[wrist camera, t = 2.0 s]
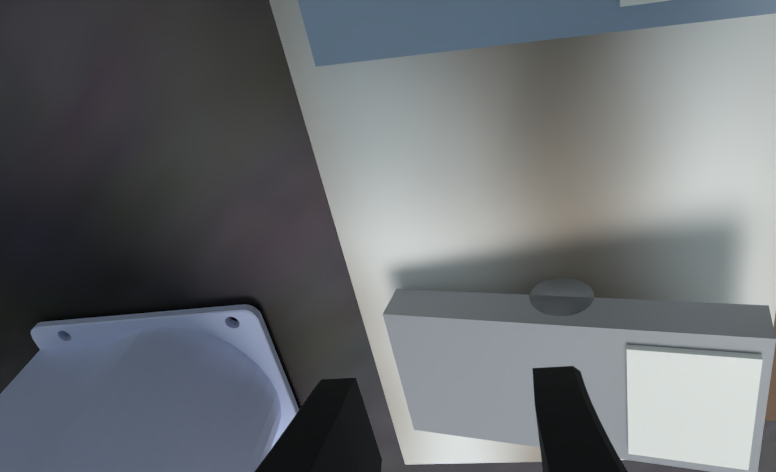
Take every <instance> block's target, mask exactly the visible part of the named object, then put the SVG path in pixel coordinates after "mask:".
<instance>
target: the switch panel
mask: <svg viewBox="0 0 776 472" xmlns="http://www.w3.org/2000/svg"><path fill="white" fill-rule="evenodd" d="M269 2H270V5H271V8H272V12H273V15H274V19H275V22H276V25H277V29H278V32H279V36H280V39H281V43H282V46H283V49H284V53H285V56H286V60H287V63H288V66H289V70H290V73H291V77H292V80H293V83H294V87H295V90H296V94H297V97H298V101H299V104H300V107H301V111H302V114H303V118H304V121H305V124H306V128H307V131H308V135H309V138H310V141H311V145H312V148H313V152H314V155H315V159H316V162H317V165H318V169H319V172H320V176H321V179H322V182H323V186H324V189H325V193H326V196H327V199H328V203H329V206H330V210H331V213H332V216H333V220H334V223H335V227H336V230H337V234H338V237H339V240H340V244H341V247H342V251H343V254H344V257H345V261H346V264H347V268H348V271H349V274H350V278H351V281H352V285H353V288H354V292H355V295H356V298H357V302H358V305H359V309H360V312H361V315H362V319H363V322H364V326H365V329H366V332H367V336H368V339H369V343H370V346H371V350H372V353H373V356H374V360H375V363H376V367H377V370H378V373H379V377H380V380H381V384H382V387H383V390H384V394H385V397H386V401H387V404H388V407H389V411H390V414H391V418H392V421H393V425H394V428H395V431H396V435H397V438H398V442H399V445H400V448H401V452H402V455H403V459H404V462H405V465H408V464H455V463H502V462H542V458H541V450H540V447H533V446H526V445H518V444H511V443H504V442H497V441H490V440H483V439H476V438H469V437H462V436H455V435H448V434H440V433H433V432H426V431H419V430H414V428H413V424H412V421H411V417H410V413H409V410H408V406H407V402H406V398H405V395H404V391H403V387H402V384H401V380H400V376H399V373H398V369H397V365H396V362H395V358H394V354H393V350H392V347H391V343H390V339H389V336H388V332H387V328H386V325H385V321H384V317H383V313H384V311H385V309H386V307H387V305H388V303H389V302H390V300H391V298H392V296H393V294H394V292H395V290H396V289H414V290H436V291H459V292H481V293H503V294H526V295H530V292H531V291H532V289H533V288H534V287H535V286H536V285H538V284H539V283H541V282H543V281H546V280H549V279H553V278H573V279H577V280H580V281H582V282H584V283H586V284H587V285H589V286H590V287H591V289H592V290H593V292H594V298H615V299H637V300H660V301H682V302H704V303H727V304H749V305H769V309H770V314H771V318H772V323H773V327H774V332H775V336H776V13H774V14H766V15H757V16H748V17H740V18H731V19H722V20H714V21H705V22H697V23H688V24H679V25H671V26H662V27H653V28H645V29H636V30H628V31H619V32H610V33H602V34H593V35H584V36H576V37H567V38H559V39H550V40H541V41H533V42H524V43H515V44H507V45H498V46H489V47H481V48H472V49H464V50H455V51H446V52H438V53H429V54H420V55H412V56H403V57H395V58H386V59H377V60H369V61H360V62H351V63H343V64H334V65H326V66H317V67H316V66H315V63H314V59H313V55H312V51H311V48H310V44H309V40H308V37H307V33H306V29H305V26H304V22H303V18H302V15H301V11H300V7H299V3H298V0H269ZM765 421H776V344H775V351H774V358H773V365H772V372H771V379H770V386H769V394H768V401H767V408H766V415H765ZM620 460H625V459H620Z"/></svg>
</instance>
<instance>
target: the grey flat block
mask: <svg viewBox="0 0 776 472" xmlns="http://www.w3.org/2000/svg"><path fill="white" fill-rule="evenodd" d="M383 317H384V321H385V325H386V328H387V332H388V336H389V339H390V343H391V347H392V350H393V354H394V358H395V362H396V365H397V369H398V373H399V376H400V380H401V384H402V387H403V391H404V395H405V398H406V402H407V406H408V410H409V413H410V417H411V421H412V424H413V428H414V430H419V431H426V432H433V433H440V434H448V435H455V436H462V437H469V438H476V439H483V440H490V441H497V442H504V443H511V444H518V445H526V446H533V447H540V442H539V434H538V426H537V418H536V410H535V399H534V385H533V369H532V368H545V367H563V366H574V367H575V368H577V369H578V370H579V371H581V374H582V378H583V381H584V384H585V387H586V389H587V392H588V395H589V397H590V400H591V402H592V404H593V407H594V409H595V411H596V413H597V415H598V417H599V419H600V421H601V423H602V426H603V428H604V430H605V432H606V434H607V436H608V438H609V440H610V441H611V443H612V445H613V447H614V449H615V451H616V453H617V454H618V456H619V458H620V459H625V460H632V461H639V462H646V463H653V464H660V465H667V466H674V467H682V468H689V469H696V470H703V471H710V472H758V465H759V458H760V450H761V443H762V436H763V429H764V422H765V415H766V408H767V401H768V394H769V386H770V379H771V372H772V365H773V358H774V351H775V344H776V336H775V332H774V327H773V323H772V318H771V314H770V309H769V305H749V304H727V303H704V302H682V301H660V300H637V299H615V298H594V292H593V290H592V289H591V287H590V286H589V285H587V284H586V283H584V282H582V281H580V280H577V279H573V278H553V279H549V280H546V281H543V282H541V283H539V284H538V285H536V286H535V287H534V288H533V289H532V291H531V292H530V295H526V294H503V293H481V292H459V291H436V290H414V289H396V290H395V292H394V294H393V296H392V298H391V300H390V302H389V303H388V305H387V307H386V309H385V311H384V313H383Z"/></svg>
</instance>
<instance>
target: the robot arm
mask: <svg viewBox="0 0 776 472" xmlns="http://www.w3.org/2000/svg"><path fill="white" fill-rule="evenodd" d="M230 317H234V318H236V319H237V320H238V321H234V320H233V319H231V318H230ZM31 336H32V338H33V340H34V342H35V343H36V345H37V346H38V348H39V349H40V350H39V351H38V353H37V354H36V355H35V356H34V357H33V358H32V359H31V360H30V362H29V363H28V364H27V365H26V366H25V367H24V368H23V369H22V370H21V372H20V373H19V374H18V375H17V376H16V377H15V378H14V379H13V381H12V382H11V383H10V384H9V385H8V386H7V387H6V388H5V389H4V391H3V392H2V393H1V394H0V472H381V463H382V459H381V456H380V452H379V449H378V446H377V443H376V440H375V437H374V434H373V431H372V427H371V424H370V421H369V418H368V415H367V412H366V409H365V406H364V402H363V399H362V396H361V393H360V390H359V387H358V384H357V381H356V378H344V379H326V380H321V381H320V382H319V383H318V384H317V386H316V387H315V388H314V390H313V391H312V392H311V394H310V395H309V397H308V398H307V400H306V401H305V402H304V404H303V405H302V407H301V408H300V409H299V408H298V405H297V403H296V400H295V398H294V395H293V393H292V390H291V388H290V385H289V383H288V380H287V378H286V375H285V373H284V370H283V368H282V365H281V363H280V360H279V358H278V355H277V352H276V350H275V347H274V345H273V342H272V340H271V337H270V335H269V332H268V330H267V327H266V325H265V322H264V320H263V317H262V315H261V313H260V311H259V310H258V309H257V308H255V307H254V306H251V305H246V304H242V305H230V306H219V307H207V308H196V309H184V310H173V311H161V312H150V313H138V314H127V315H115V316H104V317H92V318H81V319H69V320H58V321H46V322H40V323H37V325H36V326H35V327H34V328H33V329H32V330H31ZM532 369H533V385H534V399H535V410H536V418H537V426H538V434H539V442H540V450H541V458H542V466H543V472H627V470H626V468H625V467H624V465H623V463H622V461H621V460H620V458H619V456H618V454H617V453H616V451H615V449H614V447H613V445H612V443H611V441H610V440H609V438H608V436H607V434H606V432H605V430H604V428H603V426H602V423H601V421H600V419H599V417H598V415H597V413H596V411H595V409H594V407H593V404H592V402H591V400H590V397H589V395H588V392H587V389H586V387H585V384H584V381H583V378H582V374H581V371H579V370H578V369H577V368H575V367H574V366H563V367H545V368H532Z"/></svg>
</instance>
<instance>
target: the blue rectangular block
mask: <svg viewBox="0 0 776 472" xmlns="http://www.w3.org/2000/svg"><path fill="white" fill-rule="evenodd" d="M298 3H299V7H300V11H301V15H302V18H303V22H304V26H305V29H306V33H307V37H308V40H309V44H310V48H311V51H312V55H313V59H314V63H315V66H316V67H317V66H326V65H334V64H343V63H351V62H360V61H369V60H377V59H386V58H395V57H403V56H412V55H420V54H429V53H438V52H446V51H455V50H464V49H472V48H481V47H489V46H498V45H507V44H515V43H524V42H533V41H541V40H550V39H559V38H567V37H576V36H584V35H593V34H602V33H610V32H619V31H628V30H636V29H645V28H653V27H662V26H671V25H679V24H688V23H697V22H705V21H714V20H722V19H731V18H740V17H748V16H757V15H766V14H774V13H776V0H298Z"/></svg>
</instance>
